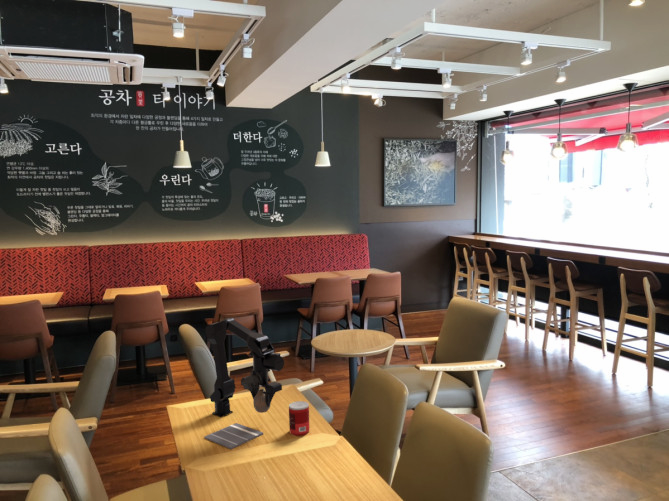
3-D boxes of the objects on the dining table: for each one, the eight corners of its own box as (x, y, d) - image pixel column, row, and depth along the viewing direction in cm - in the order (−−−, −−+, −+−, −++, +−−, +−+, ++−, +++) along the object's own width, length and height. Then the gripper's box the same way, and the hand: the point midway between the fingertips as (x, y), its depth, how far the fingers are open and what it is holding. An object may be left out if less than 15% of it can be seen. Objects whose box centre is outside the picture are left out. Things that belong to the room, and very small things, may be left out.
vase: (272, 407, 216) (271, 387, 216) (268, 414, 209) (267, 392, 209) (256, 408, 217) (255, 387, 216) (251, 414, 210) (250, 392, 210)
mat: (204, 438, 203) (204, 436, 203) (236, 424, 215) (236, 422, 215) (231, 449, 193) (231, 447, 192) (263, 434, 205) (263, 432, 205)
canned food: (312, 429, 208) (312, 402, 207) (303, 437, 201) (302, 409, 200) (296, 426, 211) (295, 399, 211) (286, 434, 204) (285, 406, 203)
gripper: (229, 368, 212) (231, 405, 213) (261, 376, 200) (263, 416, 201) (250, 361, 220) (252, 397, 221) (282, 369, 208) (283, 407, 210)
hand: (261, 404), depth 213 cm, fingers closed on vase, 7 cm apart
